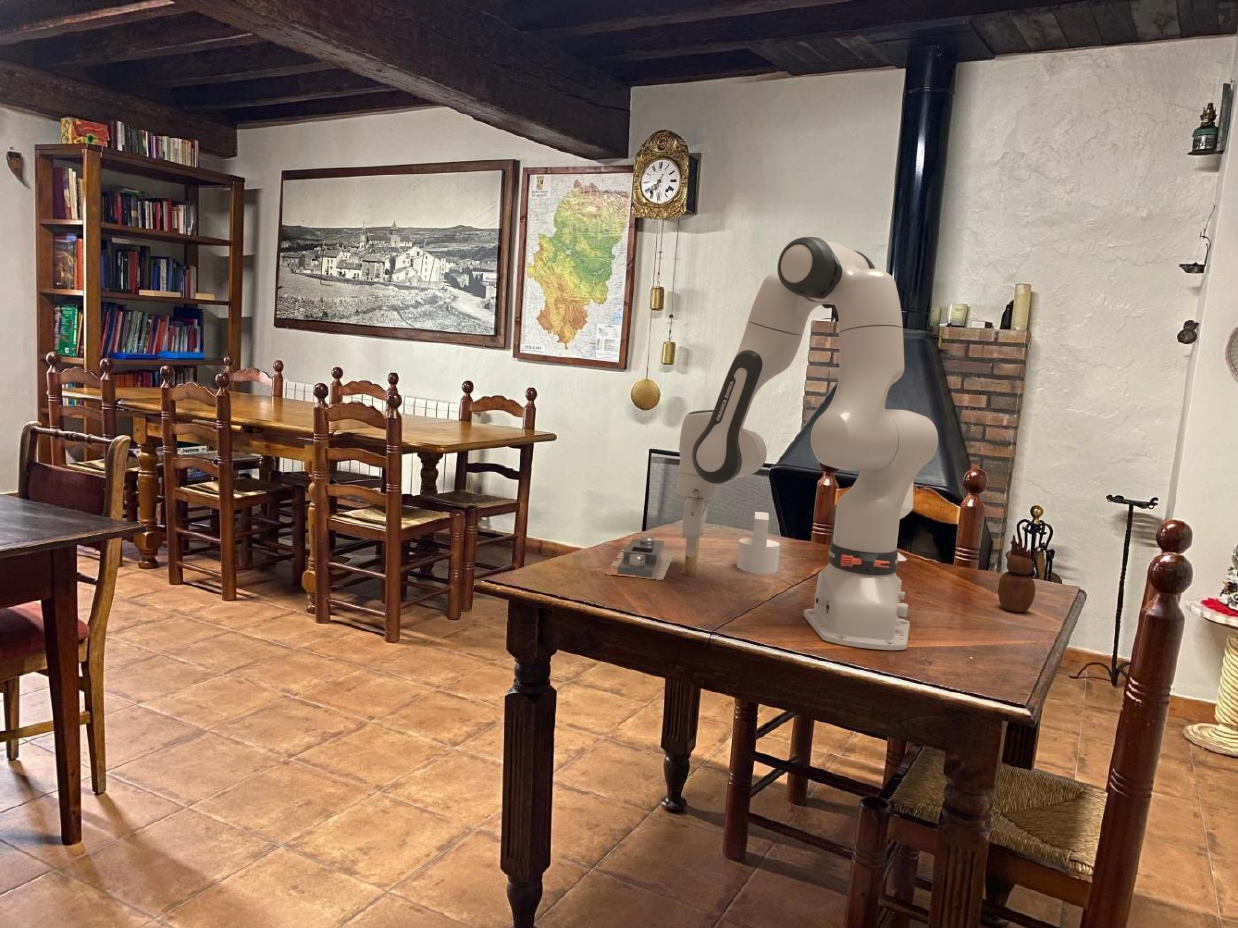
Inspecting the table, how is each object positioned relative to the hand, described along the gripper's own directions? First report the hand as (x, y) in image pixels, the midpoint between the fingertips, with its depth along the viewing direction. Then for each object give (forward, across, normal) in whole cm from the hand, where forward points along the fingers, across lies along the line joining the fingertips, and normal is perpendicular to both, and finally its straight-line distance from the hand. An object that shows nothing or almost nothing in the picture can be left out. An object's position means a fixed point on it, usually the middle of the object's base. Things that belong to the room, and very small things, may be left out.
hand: (692, 551), depth 189 cm
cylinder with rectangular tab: (+5, +12, -14) cm, 19 cm away
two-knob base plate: (+5, +4, +11) cm, 13 cm away
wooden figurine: (+5, -1, -65) cm, 65 cm away
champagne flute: (+5, +38, -47) cm, 61 cm away
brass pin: (+5, 0, 0) cm, 5 cm away
